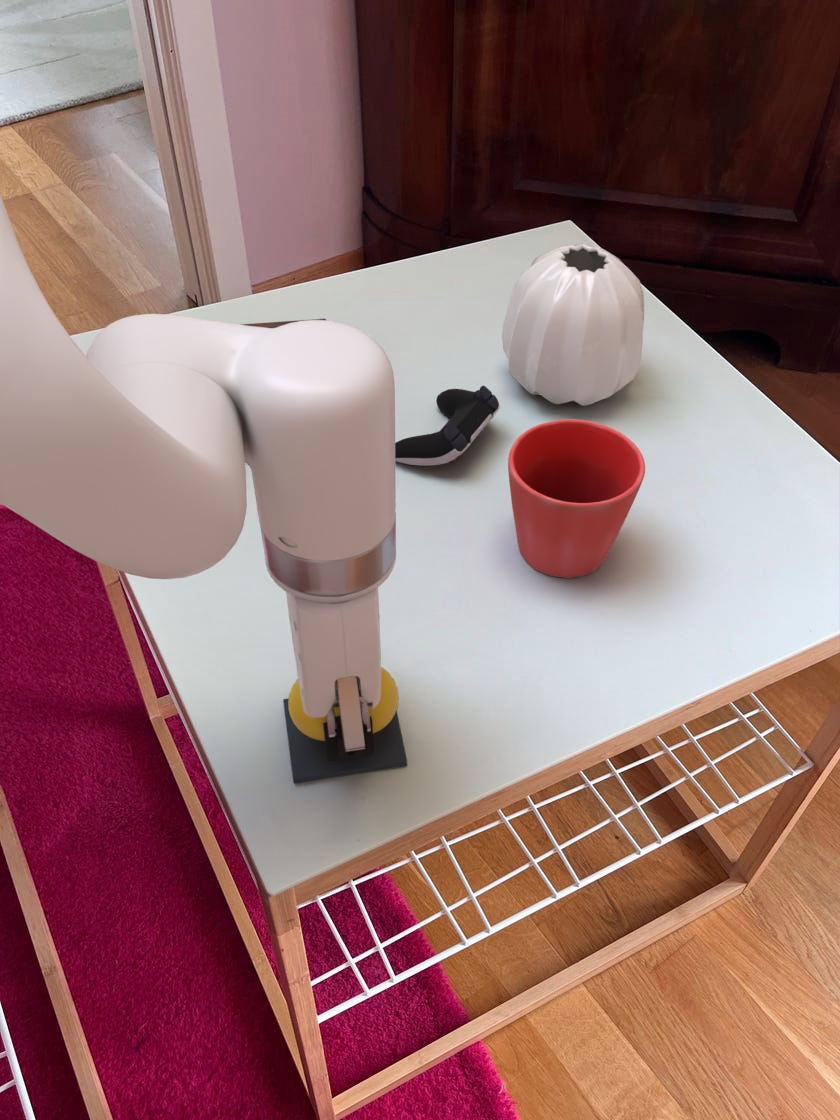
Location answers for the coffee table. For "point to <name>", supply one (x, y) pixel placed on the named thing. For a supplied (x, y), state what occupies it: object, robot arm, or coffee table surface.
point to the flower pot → (571, 493)
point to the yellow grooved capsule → (315, 725)
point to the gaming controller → (450, 428)
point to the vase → (575, 325)
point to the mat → (314, 764)
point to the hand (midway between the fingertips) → (344, 718)
